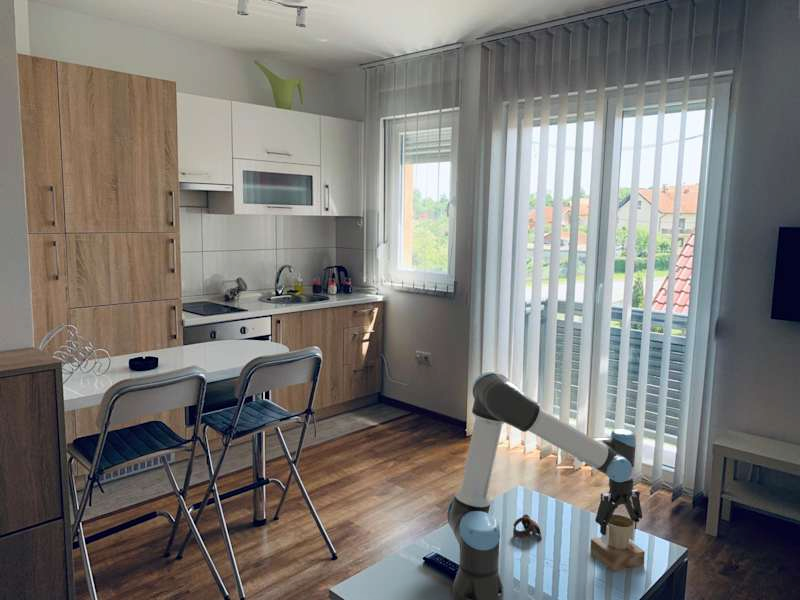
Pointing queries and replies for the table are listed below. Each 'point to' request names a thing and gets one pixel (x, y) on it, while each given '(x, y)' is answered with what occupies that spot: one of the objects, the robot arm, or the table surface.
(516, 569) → the table surface
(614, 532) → the flower pot
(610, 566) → the walnut stand
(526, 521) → the broken clay jug
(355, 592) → the table surface
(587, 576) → the table surface
